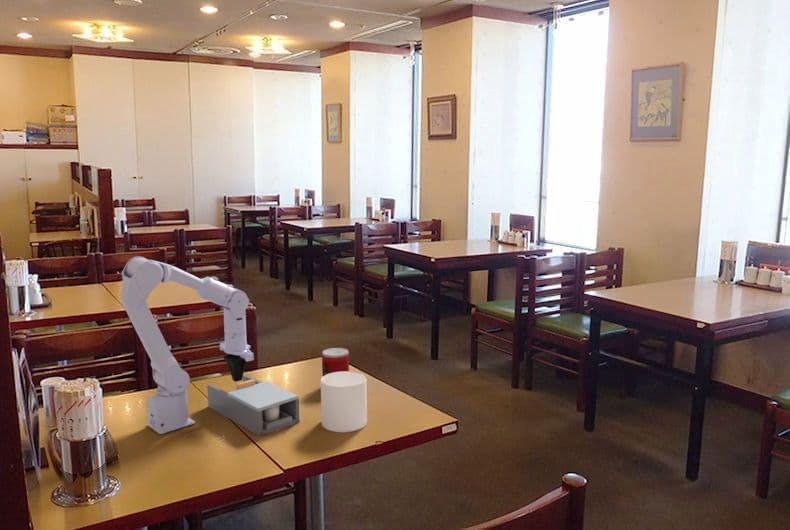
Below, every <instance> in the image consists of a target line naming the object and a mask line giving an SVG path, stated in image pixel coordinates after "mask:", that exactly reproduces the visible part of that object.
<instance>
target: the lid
mask: <svg viewBox="0 0 790 530" xmlns="http://www.w3.org/2000/svg"><path fill="white" fill-rule="evenodd" d="M254 379H255V378H254ZM254 379H251V380H248V381H244V382H243V381H242V382H241V381H240V382H238V383H235V384H236V389H235V390H232V391H226V392H227V395H228V396H229V397H231V398H233V399H235V400H237V401H239V402H241V403H243V404H245V405H247V406H249V407H250V408H252V409H254V410H256V411H258V412H259V411H262V410H265V409H268V408H271V407H274V406H278V405H281V404H284V403H287V402H290V401H293V400H296V399H299V395H298V394H295V393H294V392H291V391H289V390H287V389H284V388H282V387H279V386H278V385H276V384H273V383H271V382H269V381H267V380H266V381H261V382H262V383H259V384H255V380H254ZM299 400H300V399H299Z"/></svg>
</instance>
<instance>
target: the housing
mask: <svg viewBox="0 0 790 530" xmlns="http://www.w3.org/2000/svg"><path fill="white" fill-rule="evenodd" d="M251 379H254V380H255V384H259V383H262V382H263V381H261V380H258V379H256V378H254V377H252V376H249V375H248V374H243V377H242V382H244V381H248V380H251ZM206 385H207V386H206V387H207V405H208V408H210V409H212V410H213V411H216V412H218V413H219V414H221V415H222V416H224V417H226V418H228V419H229V420H231V421H233V422H234V423H236V424H238V425H240V426H241V427H243V428H245V429H247V430H248V431H251V432H252V433H254V434H256V435H257V436H263V435H266V434H269V433H272V432H275V431H278V430H280V429H283V428H286V427H289V426H292V425H295V424H298V423H300V399H296V400H293V401H290V402H287V403H284V404H281V405H279V420H276V421H273V422H270V423H267V422H265V421H264V410H263V411H259V412H258V411H256V410H254V409H252V408H250V407H249V406H247V405H245V404H243V403H241V402H239V401H237V400H235V399H233V398H231V397H229V396H228V395H227V392H228V391H225V390H223V389H222V388H219V387H217V386H215V385H213V384H211V383H208V384H206Z"/></svg>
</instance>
